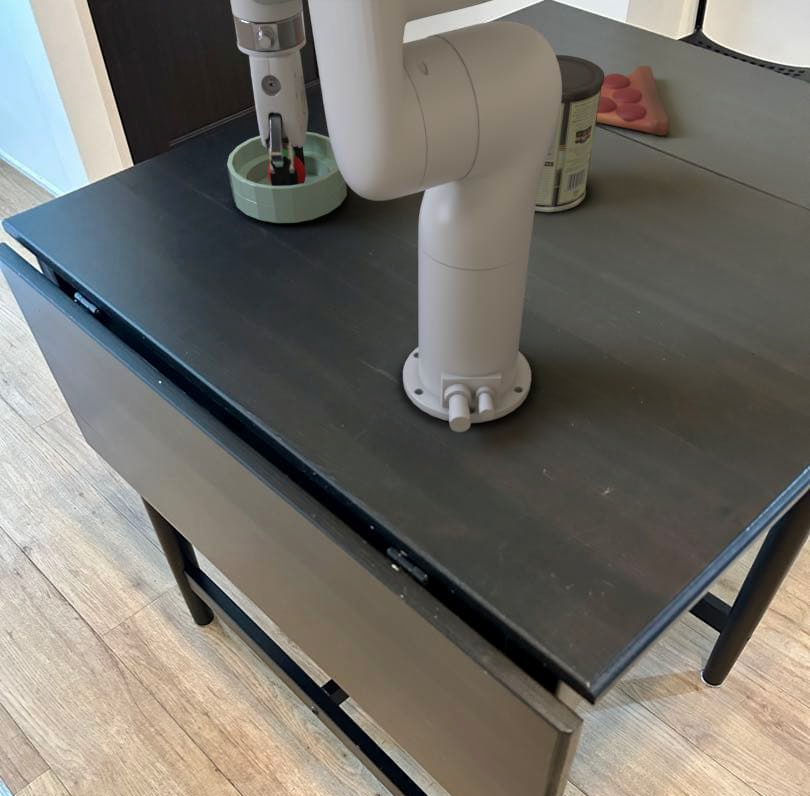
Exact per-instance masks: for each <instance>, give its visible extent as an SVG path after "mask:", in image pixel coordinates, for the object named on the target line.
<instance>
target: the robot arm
mask: <svg viewBox="0 0 810 796" xmlns="http://www.w3.org/2000/svg"><path fill="white" fill-rule="evenodd" d="M489 2H493V0H307V3H308V10H309V15H310V23H311V29H312V37H313V42H314V49H315V56H316V62H317V68H318V76H319V83H320V88H321V95H322V103H323V110H324V114H325V121H326V127H327V133H328V137H329V138H330V142H331V146H332V150H333V153H334V156H335V160H336V163H337V165H338V168H339V170H340V172H341V174H342V176H343V178H344V180H345V181H346V183H347V186H348V187H349V188H350V189H351V190H352V191H353V192H354V193H355V194H356V195H358V196H359V197H361V198H363V199H366V200H369V201H376V202H381V201H392V200H394V199H395V200H396V199H399V198H403V197H406V196H410V195H414V194H418V193H421V192H424V193H423V197H422V200H421V204H420V208H419V216H418V230H417V231H418V233H417V234H418V238H417V245H418V246H417V261H418V262H417V264H418V265H417V267H418V268H417V269H418V270H417V271H418V272H417V274H418V275H417V276H418V277H417V280H418V281H417V283H418V284H417V285H418V287H417V288H418V289H417V296H418V299H417V301H418V302H417V304H418V305H417V307H418V308H417V309H418V310H417V311H418V312H417V314H418V316H417V317H418V322H417V323H418V325H417V326H418V331H417V332H418V336H417V337H418V346H417V347H416V348H415V349H413V351H412V352H410V354H409V355H408V356H407V359H406V360H405V362H404V365H403V369H402V382H403V388H404V391H405V393H406V395H407V397H408V399H410V401H411V402H412V403H413V404H414V406H416V407H417V408H419V410H421V411H422V412H424V413H426V414H428V415H429V416H432V417H433V418H434V417H435V418H437V419H439V420H443V421H446V422H447V421H448V423H449V428H450V429H451V431H452V432H455V433H464V432H466V431H468V430H469V429H470V427H471V424H476V423H477V424H479V423H485V422H489V421H494V420H497V419H500V418H503V417H504V416H507V415H508V414H511V413H512V412H513V411H515V410H516V409H517V408H519V407H520V406H521V405H522V404H523V403H524V401H525V400H526V399H527V396H528V395H529V392H530V389H531V383H532V370H531V367H530V363H529V362H528V360H527V358H526V357H525V356H524V355H523V353H521V352H520V351H519V348H520V339H521V331H522V323H523V322H522V321H523V314H524V313H523V312H524V304H525V294H526V287H527V277H528V269H529V261H530V252H531V244H532V237H533V227H534V219H535V212H536V211H535V206H536V200H537V194H538V189H539V184H540V180H541V176H542V172H543V168H544V165H545V162H546V158H547V155H548V152H549V149H550V146H551V143H552V140H553V137H554V134H555V130H556V127H557V123H558V118H559V113H560V108H561V99H562V81H561V73H560V68H559V64H558V61H557V58H556V55H557V54H556V53H555V50H554V49H553V48H552V46H551V44H550V43H549V41H548V40H547V39H546V38H545V37H544V36H543V35H542V34H541V33H540V32H539V31H538V30H536V29H534V28H533V27H531V26H529V25H526V24H525V23H520V22H515V21H509V20H506V21H505V20H500V21H499V20H498V21H497V20H496V21H487V22H481V23H476V24H472V25H467V26H464V27H460V28H456V29H452V30H448V31H444V32H439V33H435V34H431V35H429V36H426V37H423V38H419V39H415V40H411V41H407V42H404V36H405V31H406V25H407V24H408V23H411V22H413V21H417V20H421V19H426V18H429V17H434V16H438V15H443V14H447V13H450V12H455V11H459V10H463V9H467V8H471V7H475V6H479V5H482V4H485V3H489ZM230 7H231V12H232V20H233V26H234V32H235V39H236V45H237V49H238V50H239V51H240V52H241V53H243V54H245V55H248V59H249V67H250V77H251V83H252V90H253V91H252V92H253V99H254V107H255V112H256V118H257V124H258V131H259V136H260V137H261V141H262V145H263V146H264V147H266V148H267V149H268V148H269V161H270V177H271V184H272V186H291V185H296V184H299V181H298V172H297V169H294V153H293V150H294V151H295V156H296V157H298V158H299V159H300V160H301V162H302V163H303V165H304V168H305V162H304V153H303V145H304V143H305V138H306V132H308V131H307V130H308V122H309V108H308V101H307V93H306V87H305V86H306V85H305V77H304V72H303V64H302V63H303V62H302V57H301V51H300V50H301V49H303V48H304V47H305V45H306V44H307V38H306V29H305V28H306V27H305V18H304V7H303V0H230ZM283 150H288V159H287V157H286V156H284V153H283Z"/></svg>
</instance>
